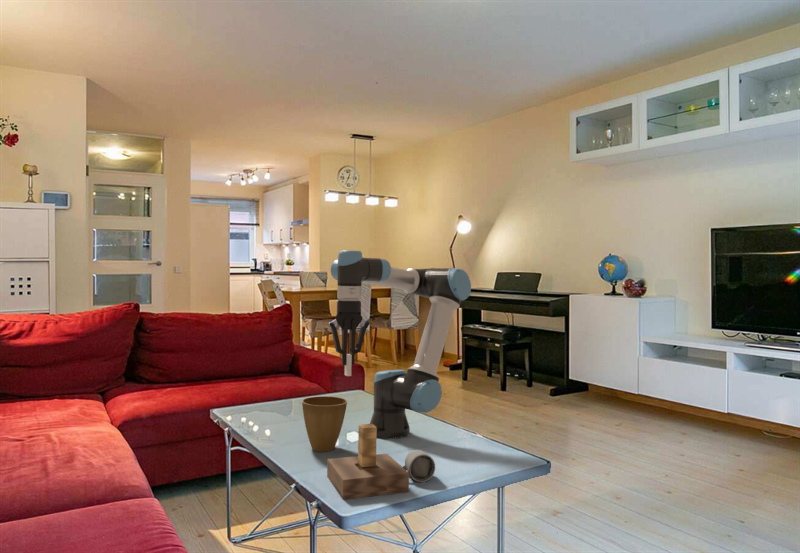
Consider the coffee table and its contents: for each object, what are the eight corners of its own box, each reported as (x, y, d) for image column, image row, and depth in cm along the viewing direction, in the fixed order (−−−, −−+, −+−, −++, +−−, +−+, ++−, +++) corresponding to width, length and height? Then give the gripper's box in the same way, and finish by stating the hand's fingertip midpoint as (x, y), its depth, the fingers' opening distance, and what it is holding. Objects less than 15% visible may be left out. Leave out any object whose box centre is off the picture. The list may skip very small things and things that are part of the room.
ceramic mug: (427, 471, 170) (427, 445, 170) (435, 481, 162) (435, 453, 162) (392, 474, 167) (392, 448, 167) (399, 484, 159) (399, 456, 159)
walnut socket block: (386, 470, 170) (387, 453, 170) (408, 491, 153) (408, 473, 153) (327, 476, 164) (327, 459, 164) (342, 499, 147) (343, 479, 147)
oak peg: (371, 477, 161) (372, 423, 161) (375, 481, 157) (376, 427, 157) (357, 478, 160) (358, 424, 160) (361, 483, 156) (362, 428, 156)
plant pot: (303, 456, 182) (304, 406, 182) (299, 443, 196) (299, 396, 196) (350, 453, 186) (350, 404, 186) (342, 441, 200) (343, 395, 200)
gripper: (331, 300, 174) (330, 378, 174) (372, 300, 178) (371, 376, 178) (326, 299, 181) (324, 374, 181) (365, 299, 185) (364, 372, 185)
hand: (347, 375), depth 179 cm, fingers closed
